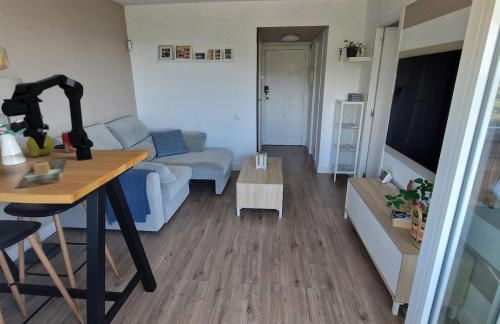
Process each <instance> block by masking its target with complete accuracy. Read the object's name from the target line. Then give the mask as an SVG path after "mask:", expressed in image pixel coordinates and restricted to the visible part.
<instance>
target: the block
mask: <svg viewBox="0 0 500 324" xmlns="http://www.w3.org/2000/svg"><path fill="white" fill-rule="evenodd" d="M34 164H35V165H34V166H33V165H32V166H33V168H34V172H35V175H41V174H49V172H50V167H49V163H48V162H43V163H34Z"/></svg>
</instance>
